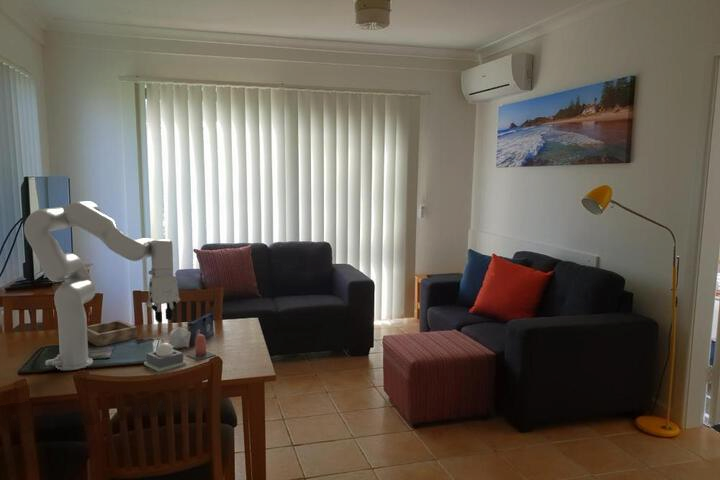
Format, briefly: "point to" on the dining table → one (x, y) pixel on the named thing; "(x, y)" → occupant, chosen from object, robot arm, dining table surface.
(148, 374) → the dining table surface
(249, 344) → the dining table surface
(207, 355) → the coaster
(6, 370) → the dining table surface
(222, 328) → the dining table surface
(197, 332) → the vhs cassette tape
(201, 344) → the pawn
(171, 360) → the popper base
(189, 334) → the die
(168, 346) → the popper dome
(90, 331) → the snack corral
